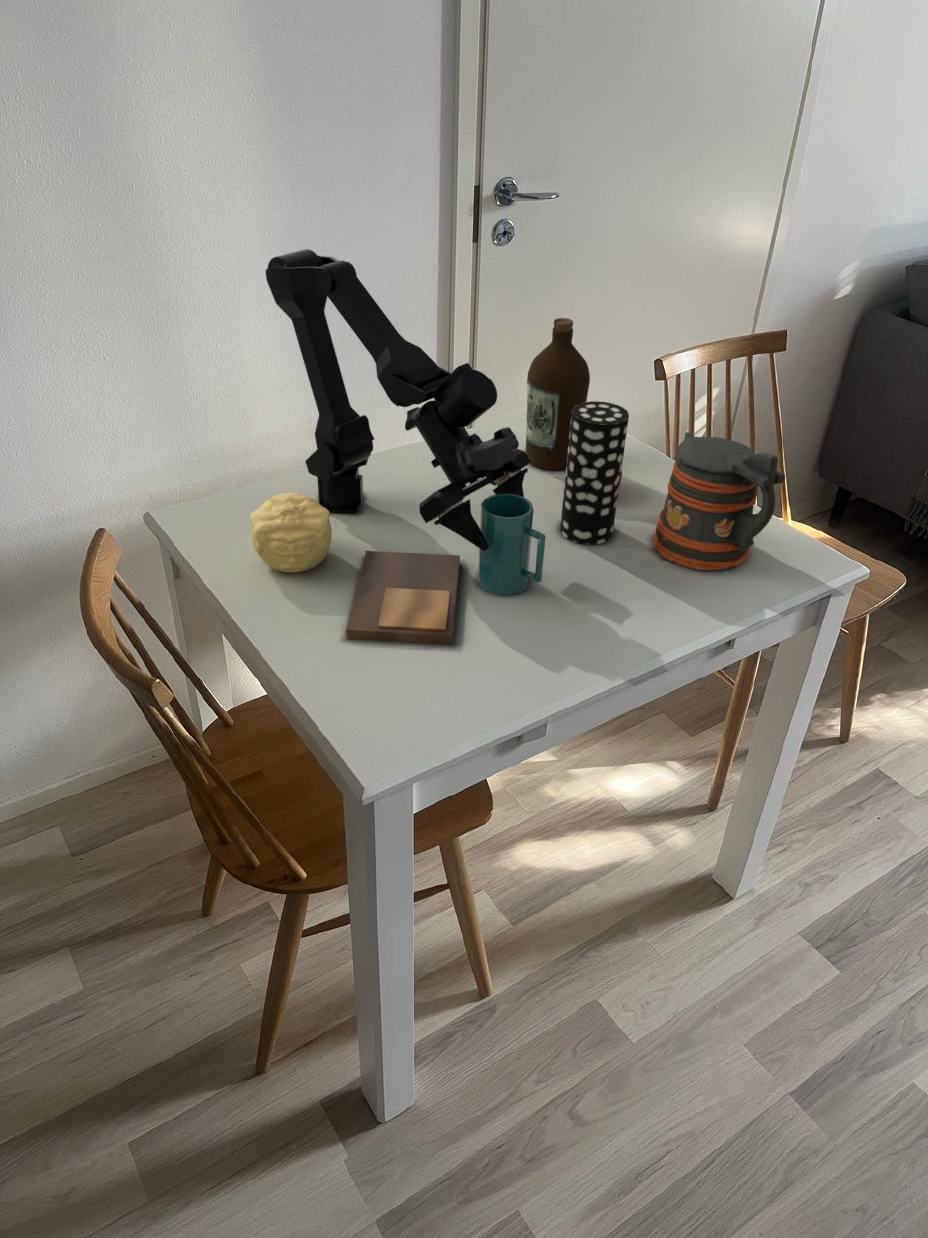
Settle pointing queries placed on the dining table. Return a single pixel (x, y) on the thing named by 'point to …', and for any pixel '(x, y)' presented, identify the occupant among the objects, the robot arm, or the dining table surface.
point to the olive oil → (554, 398)
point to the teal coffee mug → (508, 544)
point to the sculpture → (291, 532)
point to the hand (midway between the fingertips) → (507, 536)
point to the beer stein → (715, 503)
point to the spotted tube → (593, 471)
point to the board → (405, 598)
